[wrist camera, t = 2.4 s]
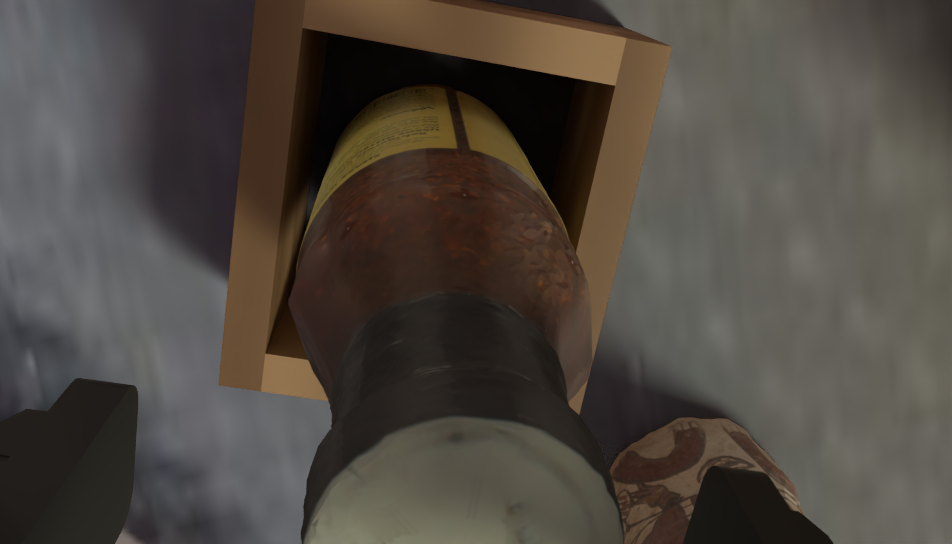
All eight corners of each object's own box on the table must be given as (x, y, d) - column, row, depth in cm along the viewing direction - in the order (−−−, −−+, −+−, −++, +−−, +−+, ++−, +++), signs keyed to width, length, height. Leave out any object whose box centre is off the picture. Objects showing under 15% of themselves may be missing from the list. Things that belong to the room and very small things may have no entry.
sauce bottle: (317, 236, 30) (111, 712, 11) (357, 54, 28) (187, 262, 9) (502, 280, 31) (601, 794, 12) (554, 106, 29) (770, 397, 10)
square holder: (625, 27, 28) (672, 47, 22) (550, 349, 32) (573, 436, 26) (296, -36, 27) (258, -33, 21) (259, 305, 30) (218, 385, 25)
